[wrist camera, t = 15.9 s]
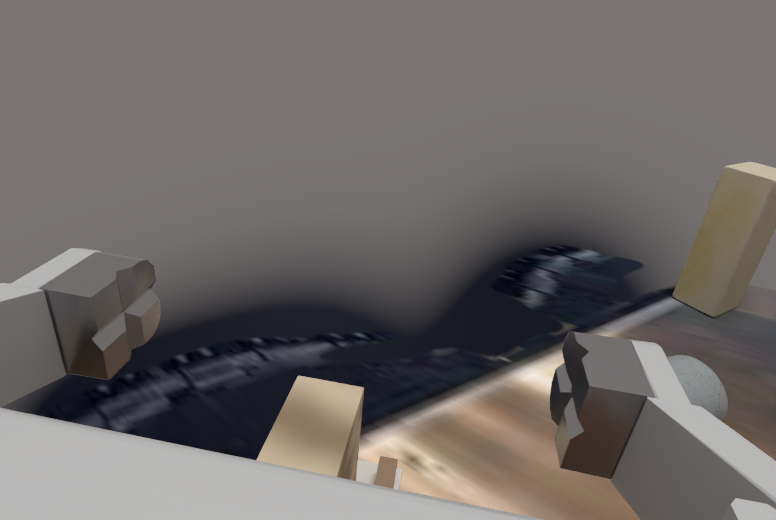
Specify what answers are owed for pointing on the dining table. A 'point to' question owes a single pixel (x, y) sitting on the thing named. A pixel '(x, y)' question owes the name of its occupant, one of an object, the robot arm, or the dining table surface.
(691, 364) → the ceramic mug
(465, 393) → the dining table surface
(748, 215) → the toy refrigerator
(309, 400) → the wooden block
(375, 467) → the track
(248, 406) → the dining table surface
